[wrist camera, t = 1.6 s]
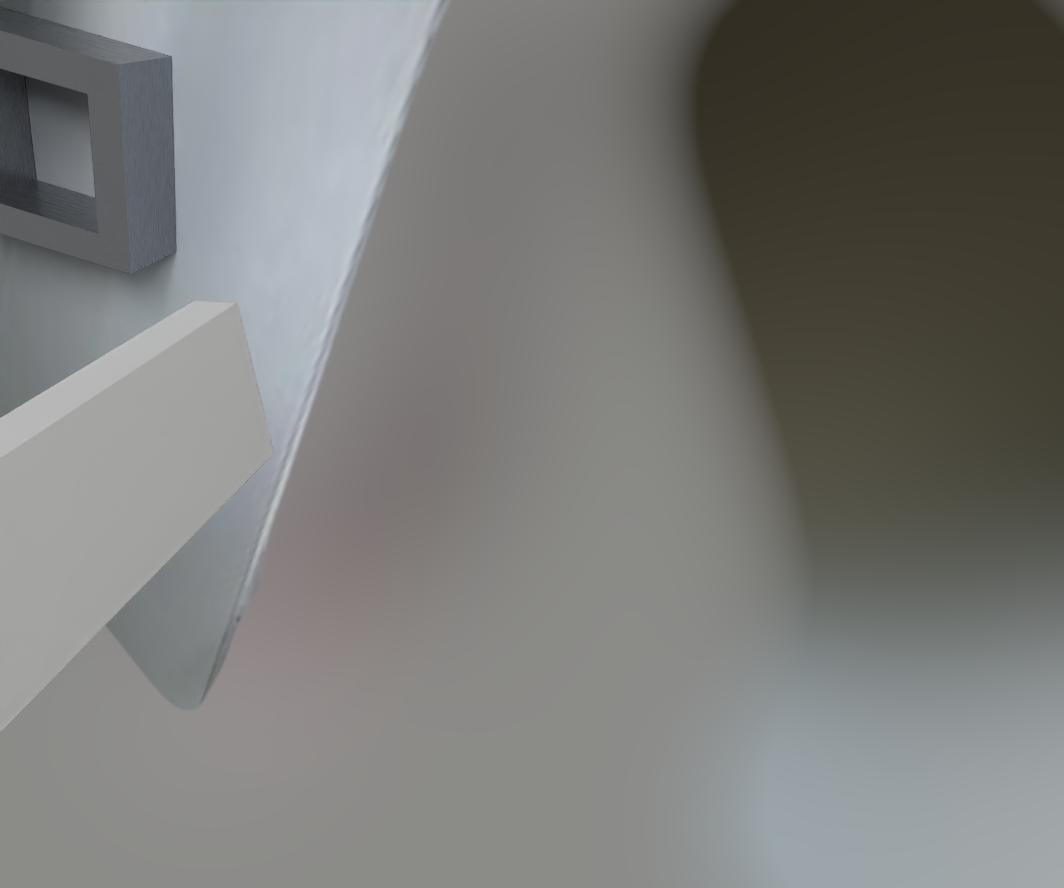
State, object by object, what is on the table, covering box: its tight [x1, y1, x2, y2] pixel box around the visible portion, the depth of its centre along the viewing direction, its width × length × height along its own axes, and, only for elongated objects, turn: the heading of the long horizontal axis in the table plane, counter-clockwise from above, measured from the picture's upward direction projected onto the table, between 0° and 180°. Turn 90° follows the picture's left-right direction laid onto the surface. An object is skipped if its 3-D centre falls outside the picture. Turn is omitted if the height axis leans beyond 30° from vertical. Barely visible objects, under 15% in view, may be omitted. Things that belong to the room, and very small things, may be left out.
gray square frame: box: [0, 7, 176, 274], centre depth 37 cm, size 9×9×4 cm
